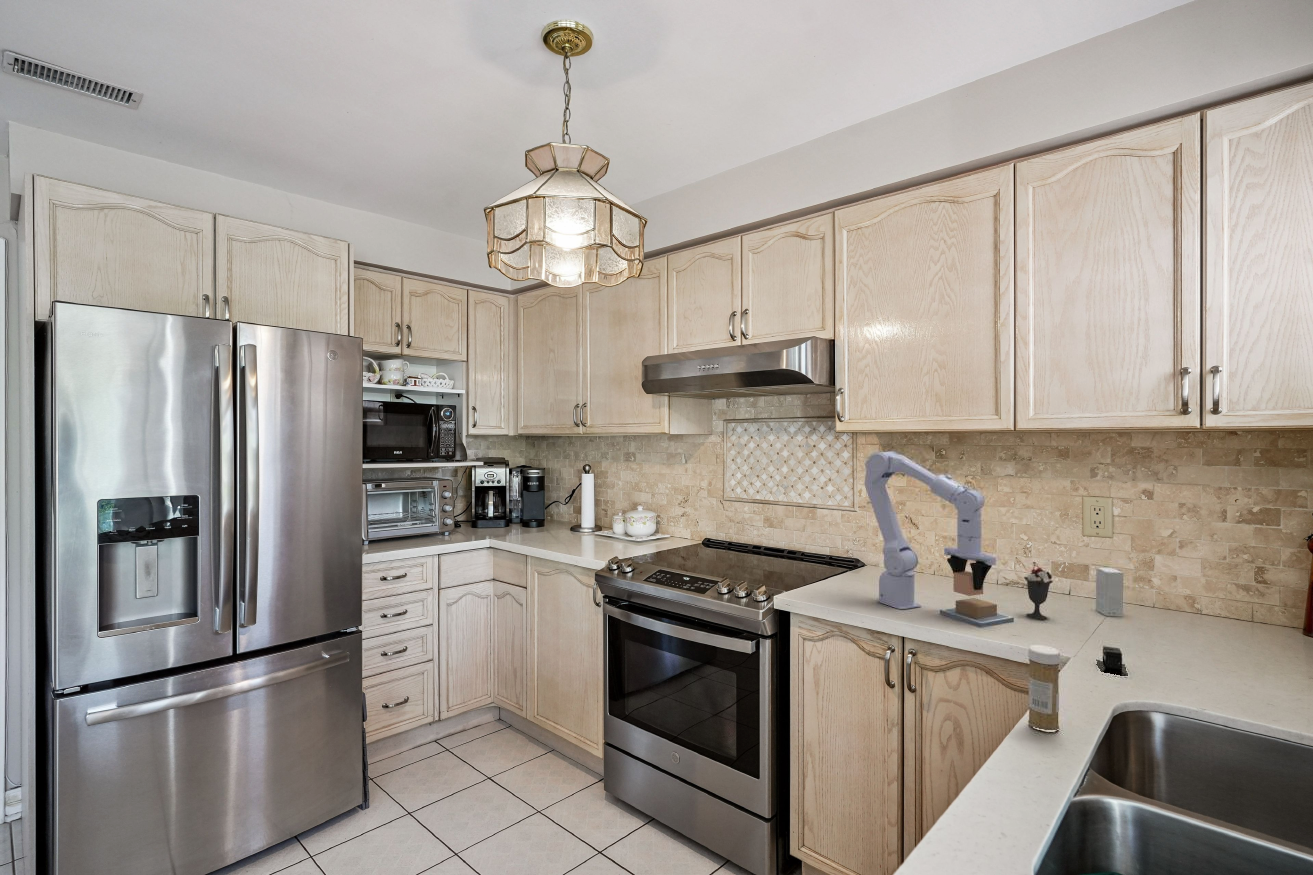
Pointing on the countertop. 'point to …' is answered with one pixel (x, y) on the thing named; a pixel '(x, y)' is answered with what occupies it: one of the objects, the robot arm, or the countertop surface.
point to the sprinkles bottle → (1043, 687)
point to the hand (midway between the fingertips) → (968, 587)
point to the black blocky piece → (1112, 662)
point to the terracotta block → (965, 584)
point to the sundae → (1038, 590)
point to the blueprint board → (976, 613)
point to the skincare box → (1109, 592)
